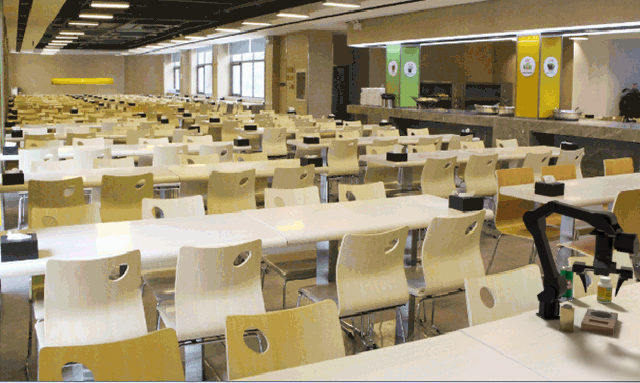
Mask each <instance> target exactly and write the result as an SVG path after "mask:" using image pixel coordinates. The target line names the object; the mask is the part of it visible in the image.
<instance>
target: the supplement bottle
mask: <svg viewBox="0 0 640 383" xmlns="http://www.w3.org/2000/svg"><path fill="white" fill-rule="evenodd" d="M612 300H613V284H612V277H609V276H600V277H599V282H597V288H596V302H597V301H598V302H597V303H599V302H600V304H603V303H610V304H611V303H612Z"/></svg>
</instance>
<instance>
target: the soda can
mask: <svg viewBox="0 0 640 383" xmlns="http://www.w3.org/2000/svg"><path fill="white" fill-rule="evenodd" d="M559 274H560V275H565V277H566V282H567V283H568V286H567V291H566V293H565V294H564V295H562V297H561V298H565V299H566V298H567V299H570V298H571V297H573V292H574V291H573V288H574V277H575V276H574V274H575V272H572V265H571V266H570V265H562V266H561V268H560V269H559Z"/></svg>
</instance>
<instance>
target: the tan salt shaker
mask: <svg viewBox="0 0 640 383" xmlns="http://www.w3.org/2000/svg"><path fill="white" fill-rule="evenodd" d="M575 309H576V308H575V307H573V305H572V304H570V303H569V304H568V303H565V304H563V305H562V306H561V305H560V315H559V316H560V318H559V325H558V326H559V329H558V330H559V331H560V332H562V333H565V334H572V333H573V332H574V325H575V324H574V323H575V313H576V312H575Z"/></svg>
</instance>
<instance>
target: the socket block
mask: <svg viewBox="0 0 640 383" xmlns="http://www.w3.org/2000/svg"><path fill="white" fill-rule="evenodd" d="M618 319H619V313H618V312H613V311H606V310H602V309H601V310H600V309H595V308H594V309H593V308H587V309H586V311H585V314H584V316H583V318H582V320H581V323H580V331H584V332H589V333H596V334H602V335H609V336H614V334H615V330H616V326H617V324H618V323H617V322H618Z"/></svg>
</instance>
